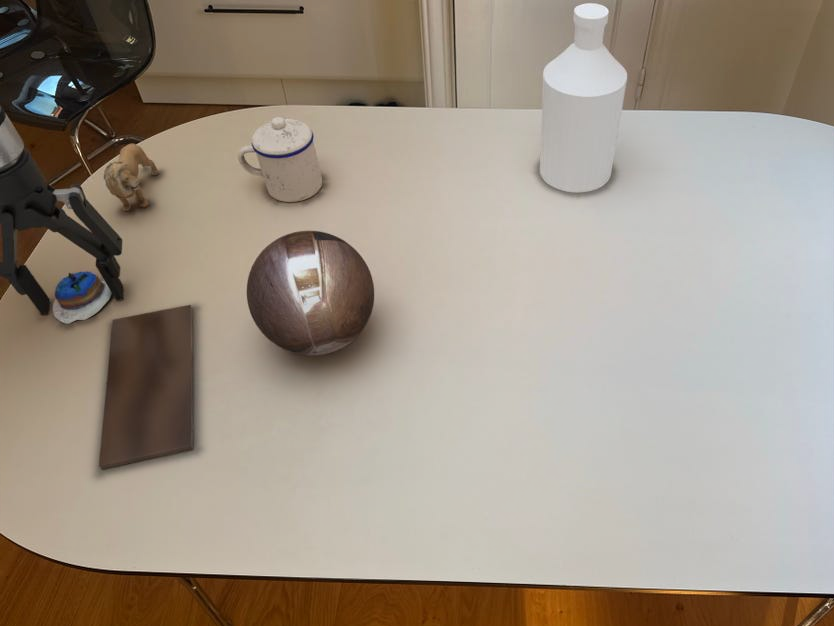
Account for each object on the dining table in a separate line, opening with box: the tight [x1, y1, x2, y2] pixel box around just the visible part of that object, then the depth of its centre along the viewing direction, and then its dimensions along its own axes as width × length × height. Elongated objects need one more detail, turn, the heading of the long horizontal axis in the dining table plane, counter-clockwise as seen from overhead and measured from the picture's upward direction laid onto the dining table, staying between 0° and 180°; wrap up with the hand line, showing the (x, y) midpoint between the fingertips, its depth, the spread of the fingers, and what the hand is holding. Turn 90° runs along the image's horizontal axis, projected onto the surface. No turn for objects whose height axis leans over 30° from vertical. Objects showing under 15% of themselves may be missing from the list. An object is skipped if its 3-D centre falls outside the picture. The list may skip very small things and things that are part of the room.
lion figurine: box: [103, 143, 160, 212], centre depth 107 cm, size 15×5×9 cm, turn 13°
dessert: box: [51, 271, 113, 325], centre depth 95 cm, size 8×7×6 cm
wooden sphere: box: [246, 230, 375, 356], centre depth 85 cm, size 15×15×15 cm
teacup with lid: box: [237, 116, 323, 203], centre depth 107 cm, size 12×9×12 cm
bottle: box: [539, 2, 628, 194], centre depth 103 cm, size 12×12×25 cm
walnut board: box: [98, 304, 194, 470], centre depth 86 cm, size 10×23×1 cm, turn 15°
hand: (83, 300), depth 96 cm, fingers open, 9 cm apart
